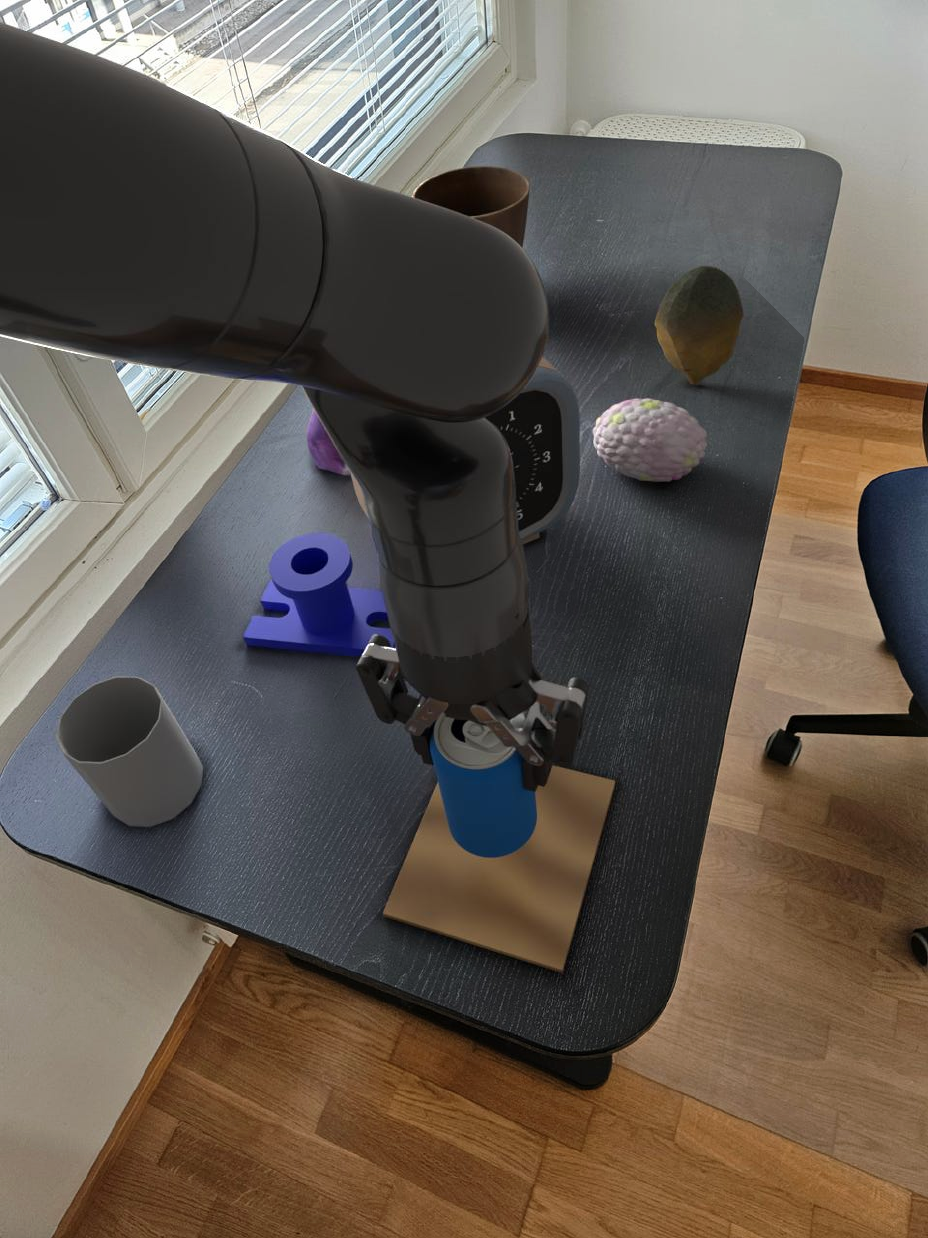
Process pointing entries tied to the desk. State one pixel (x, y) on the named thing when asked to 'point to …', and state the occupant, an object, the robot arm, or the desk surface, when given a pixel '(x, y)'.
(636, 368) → the desk surface
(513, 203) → the flower pot
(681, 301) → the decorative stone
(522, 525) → the alarm clock
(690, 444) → the decorative item
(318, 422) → the figurine
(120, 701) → the cup
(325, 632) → the mount
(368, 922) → the desk surface
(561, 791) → the cork mat
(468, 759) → the beverage can
